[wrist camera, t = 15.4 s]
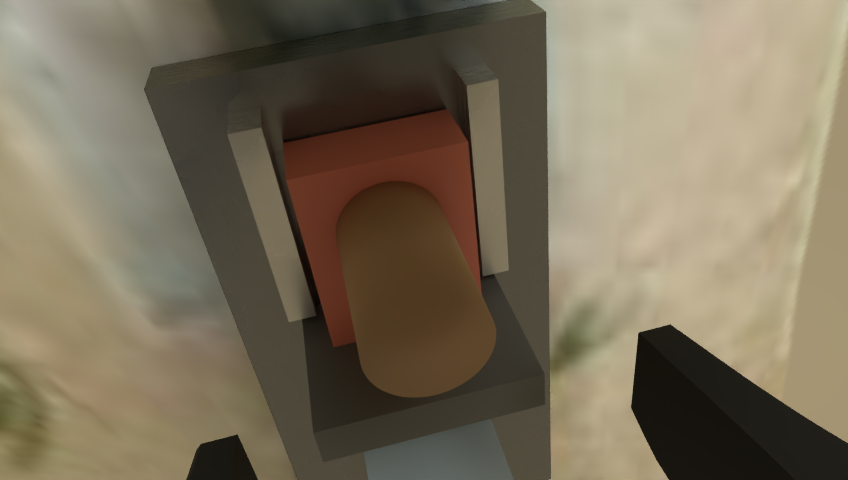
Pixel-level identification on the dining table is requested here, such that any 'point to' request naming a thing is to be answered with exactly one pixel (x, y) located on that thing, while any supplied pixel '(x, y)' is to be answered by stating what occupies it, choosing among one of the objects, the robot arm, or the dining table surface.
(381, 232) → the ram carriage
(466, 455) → the block
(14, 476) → the dining table surface
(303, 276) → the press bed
